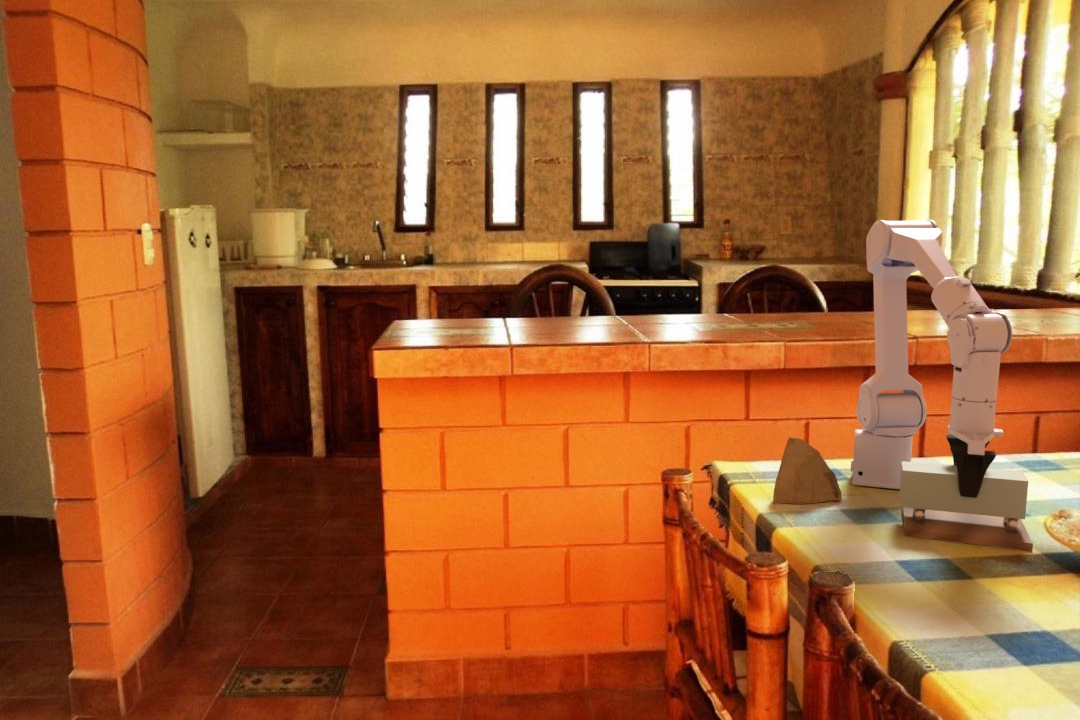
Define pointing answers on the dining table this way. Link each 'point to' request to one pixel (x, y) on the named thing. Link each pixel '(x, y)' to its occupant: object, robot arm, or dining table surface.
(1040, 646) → the dining table surface
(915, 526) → the peg rack
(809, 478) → the rock
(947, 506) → the off-white rectangular block
